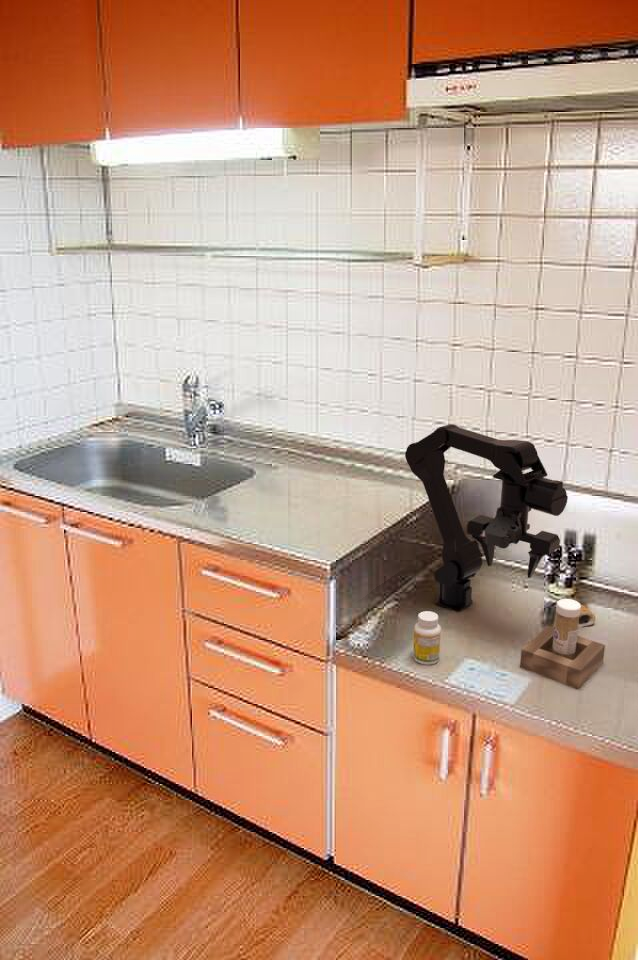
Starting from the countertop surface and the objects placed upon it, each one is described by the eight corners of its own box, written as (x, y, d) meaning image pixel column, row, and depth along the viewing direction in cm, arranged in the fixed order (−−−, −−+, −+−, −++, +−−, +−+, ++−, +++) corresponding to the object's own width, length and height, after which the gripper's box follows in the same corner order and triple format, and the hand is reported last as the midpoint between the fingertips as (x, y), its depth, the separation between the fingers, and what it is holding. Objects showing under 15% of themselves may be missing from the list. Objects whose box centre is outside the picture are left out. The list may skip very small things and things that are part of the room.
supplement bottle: (435, 667, 156) (437, 624, 153) (409, 661, 158) (411, 619, 155) (442, 654, 160) (445, 612, 157) (417, 649, 162) (419, 607, 159)
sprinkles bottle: (545, 660, 158) (551, 600, 153) (563, 655, 160) (570, 596, 155) (561, 672, 154) (568, 610, 150) (579, 666, 156) (586, 606, 151)
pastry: (548, 610, 178) (549, 595, 177) (574, 606, 180) (576, 591, 179) (571, 630, 170) (572, 614, 168) (598, 626, 171) (600, 610, 170)
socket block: (519, 667, 156) (521, 649, 154) (546, 642, 164) (548, 625, 163) (578, 689, 148) (580, 670, 147) (602, 662, 157) (605, 645, 156)
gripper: (455, 503, 162) (451, 572, 167) (540, 524, 151) (533, 598, 156) (481, 489, 170) (477, 555, 175) (564, 508, 159) (557, 578, 164)
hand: (509, 571), depth 167 cm, fingers open, 9 cm apart
